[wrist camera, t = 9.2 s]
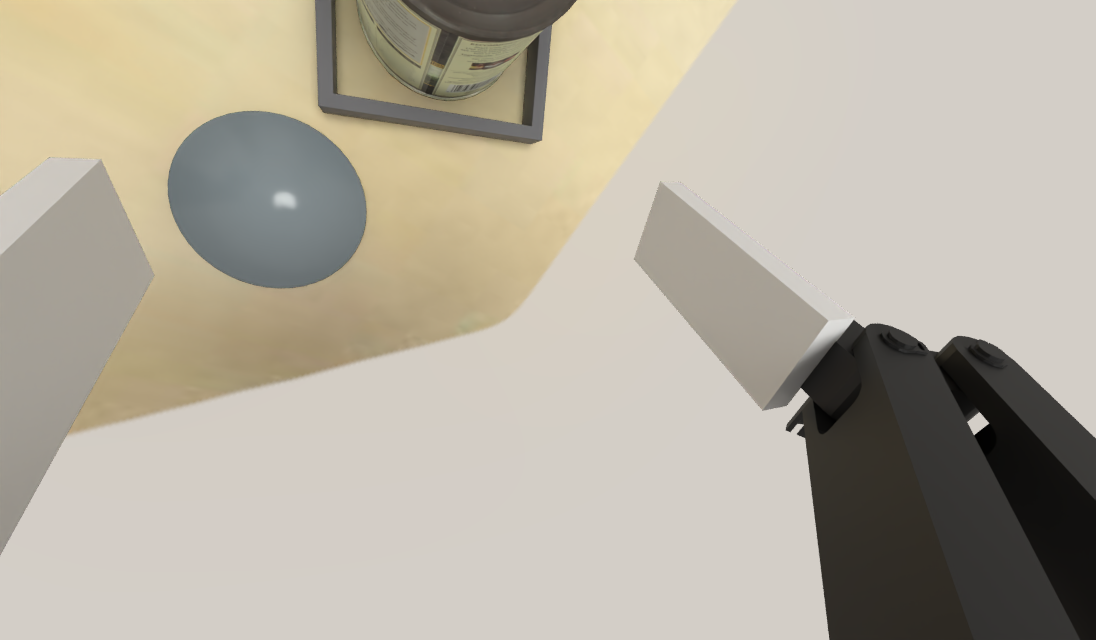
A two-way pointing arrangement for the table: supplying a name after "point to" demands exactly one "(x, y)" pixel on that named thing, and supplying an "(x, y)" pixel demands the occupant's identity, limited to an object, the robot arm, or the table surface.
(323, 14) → the square picture frame
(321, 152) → the slate coaster
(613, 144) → the table surface
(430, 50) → the coffee can
